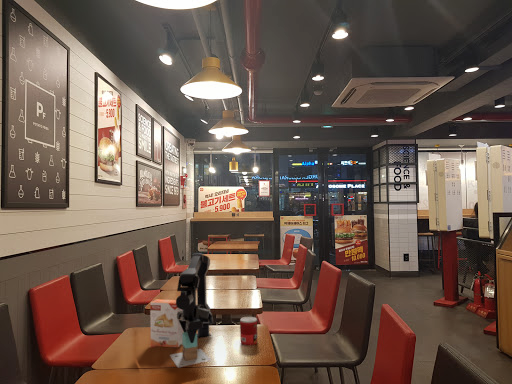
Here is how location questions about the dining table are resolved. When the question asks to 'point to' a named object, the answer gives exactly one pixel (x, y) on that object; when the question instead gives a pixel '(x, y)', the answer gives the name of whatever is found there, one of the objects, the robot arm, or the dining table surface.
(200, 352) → the plate
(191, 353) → the walnut cube
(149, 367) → the dining table surface
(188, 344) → the teal cube
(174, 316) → the cracker box
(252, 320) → the canned food
